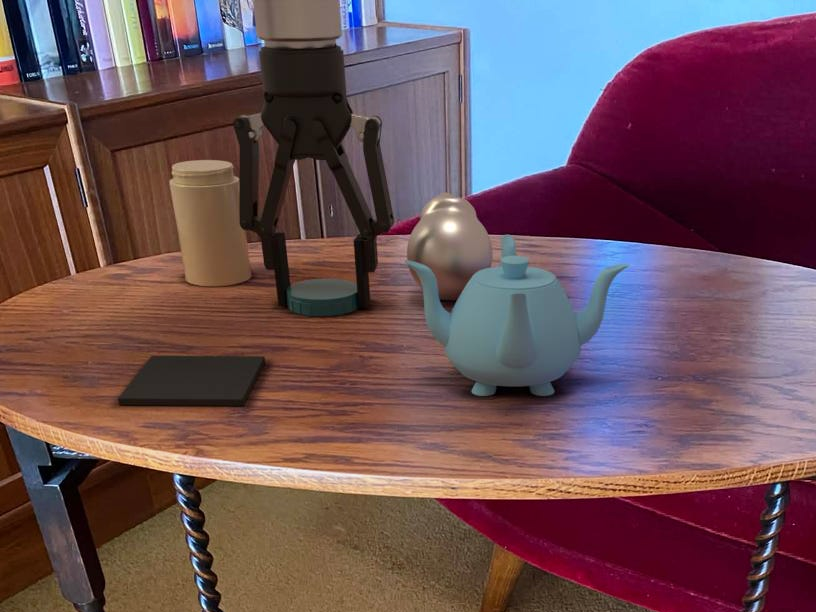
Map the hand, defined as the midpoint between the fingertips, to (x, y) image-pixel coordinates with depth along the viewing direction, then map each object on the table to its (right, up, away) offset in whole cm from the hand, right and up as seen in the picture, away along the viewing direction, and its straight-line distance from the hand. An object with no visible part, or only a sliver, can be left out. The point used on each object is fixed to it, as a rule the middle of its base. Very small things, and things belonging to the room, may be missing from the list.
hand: (324, 302), depth 99 cm
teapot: (+19, -13, -17) cm, 28 cm away
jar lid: (0, +1, -1) cm, 1 cm away
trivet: (-8, -13, -18) cm, 23 cm away
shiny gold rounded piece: (+13, +1, +3) cm, 13 cm away
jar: (-13, +6, +8) cm, 16 cm away
